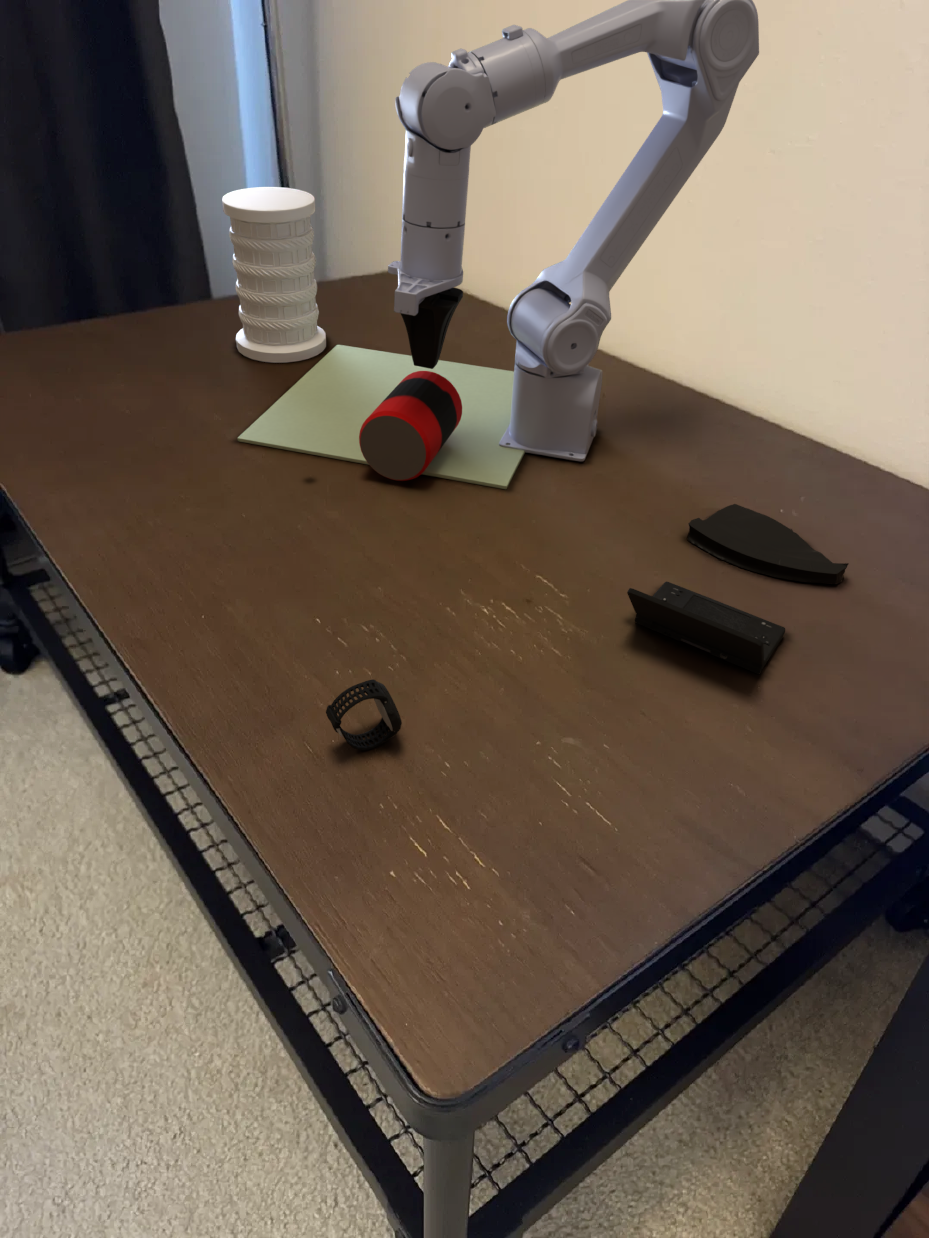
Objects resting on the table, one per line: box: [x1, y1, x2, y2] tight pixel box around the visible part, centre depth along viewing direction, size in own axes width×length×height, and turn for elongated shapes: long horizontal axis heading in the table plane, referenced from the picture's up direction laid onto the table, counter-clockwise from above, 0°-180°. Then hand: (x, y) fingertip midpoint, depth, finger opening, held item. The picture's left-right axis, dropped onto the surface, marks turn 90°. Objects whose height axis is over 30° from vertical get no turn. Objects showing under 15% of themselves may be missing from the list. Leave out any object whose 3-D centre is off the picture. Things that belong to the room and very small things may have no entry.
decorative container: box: [221, 186, 327, 364], centre depth 113 cm, size 12×12×18 cm
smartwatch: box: [325, 678, 403, 751], centre depth 63 cm, size 4×5×5 cm
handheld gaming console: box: [626, 581, 786, 675], centre depth 72 cm, size 12×7×10 cm
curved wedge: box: [686, 503, 850, 585], centre depth 84 cm, size 8×14×2 cm, turn 41°
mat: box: [236, 344, 526, 490], centre depth 105 cm, size 30×28×1 cm
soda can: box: [359, 371, 462, 482], centre depth 94 cm, size 8×8×12 cm
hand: (425, 365), depth 90 cm, fingers closed
